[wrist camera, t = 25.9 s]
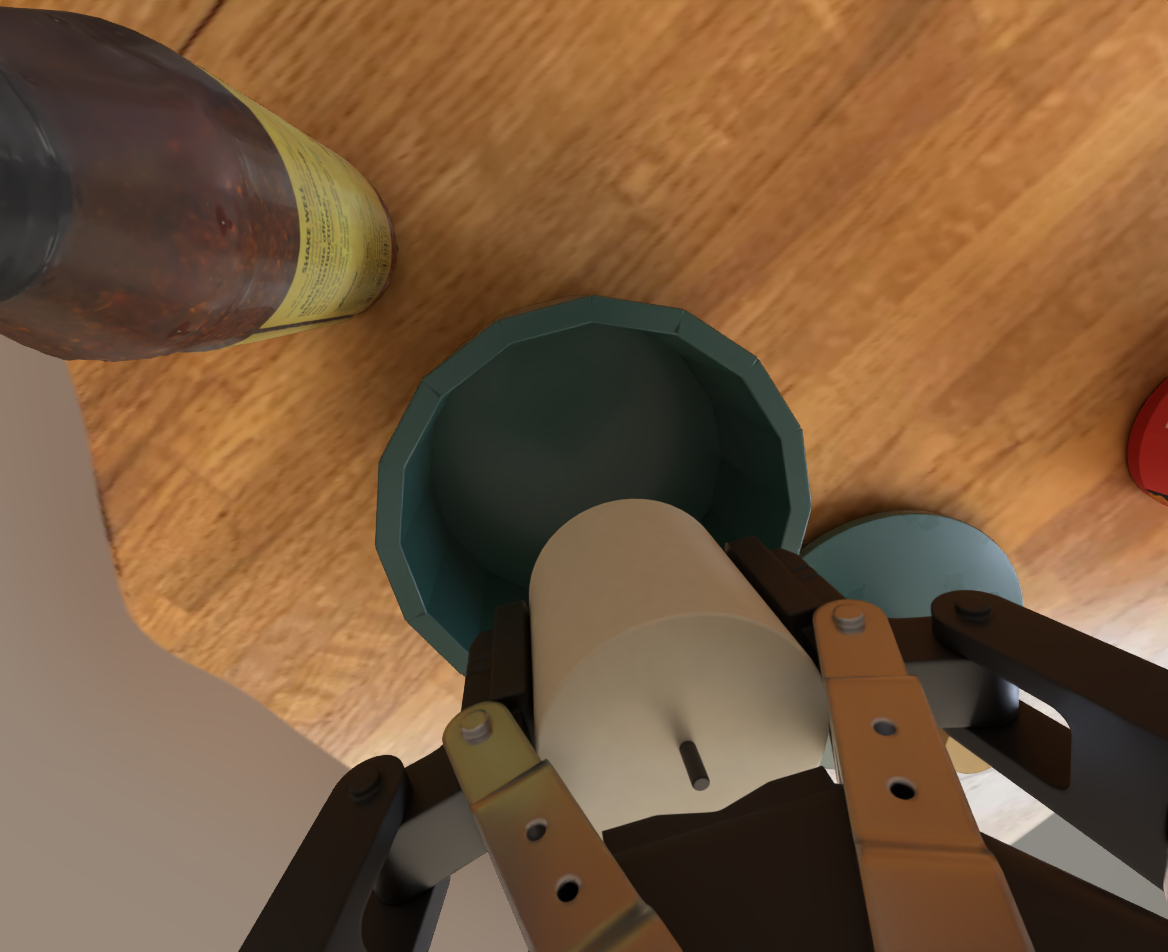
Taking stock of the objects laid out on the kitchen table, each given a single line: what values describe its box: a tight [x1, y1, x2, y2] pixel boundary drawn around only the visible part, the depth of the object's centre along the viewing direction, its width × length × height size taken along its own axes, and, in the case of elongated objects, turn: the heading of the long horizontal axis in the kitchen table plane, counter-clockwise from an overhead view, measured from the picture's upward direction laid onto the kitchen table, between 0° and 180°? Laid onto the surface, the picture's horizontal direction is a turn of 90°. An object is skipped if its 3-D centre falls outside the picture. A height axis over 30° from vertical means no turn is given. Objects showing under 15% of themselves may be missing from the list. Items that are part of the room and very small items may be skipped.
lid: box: [799, 510, 1023, 774], centre depth 28 cm, size 16×16×8 cm
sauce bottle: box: [0, 7, 398, 362], centre depth 13 cm, size 6×6×20 cm
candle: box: [529, 499, 830, 840], centre depth 12 cm, size 5×5×6 cm
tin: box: [375, 295, 812, 677], centre depth 23 cm, size 15×15×8 cm
